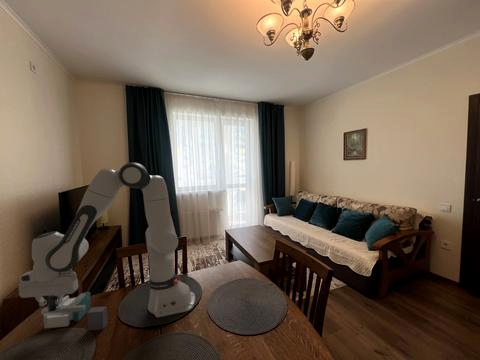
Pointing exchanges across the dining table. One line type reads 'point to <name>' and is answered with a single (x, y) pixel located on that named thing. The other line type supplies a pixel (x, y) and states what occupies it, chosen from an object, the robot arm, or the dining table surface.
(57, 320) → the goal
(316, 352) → the dining table surface
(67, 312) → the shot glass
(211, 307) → the dining table surface
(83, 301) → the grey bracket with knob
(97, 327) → the rod housing
